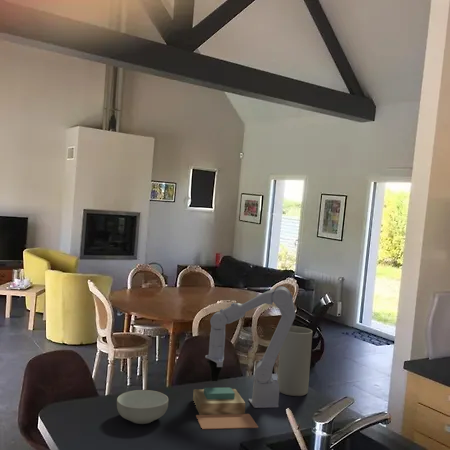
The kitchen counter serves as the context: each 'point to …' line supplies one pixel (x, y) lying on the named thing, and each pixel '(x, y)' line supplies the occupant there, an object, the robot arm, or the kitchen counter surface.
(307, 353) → the cylinder vase
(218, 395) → the teal rectangular block
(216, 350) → the robot arm
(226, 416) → the terracotta mat
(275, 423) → the kitchen counter surface
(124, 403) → the cereal bowl
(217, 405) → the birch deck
